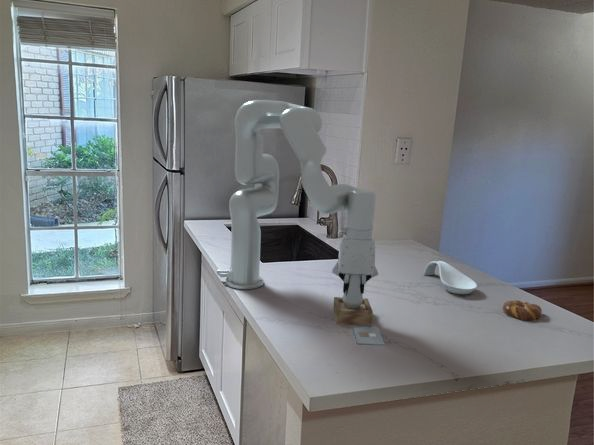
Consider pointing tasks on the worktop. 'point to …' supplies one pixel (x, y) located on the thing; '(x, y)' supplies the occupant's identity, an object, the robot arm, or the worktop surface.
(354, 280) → the salt shaker
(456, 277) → the spoon rest
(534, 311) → the pretzel
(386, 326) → the worktop surface
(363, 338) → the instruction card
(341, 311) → the wooden crate
